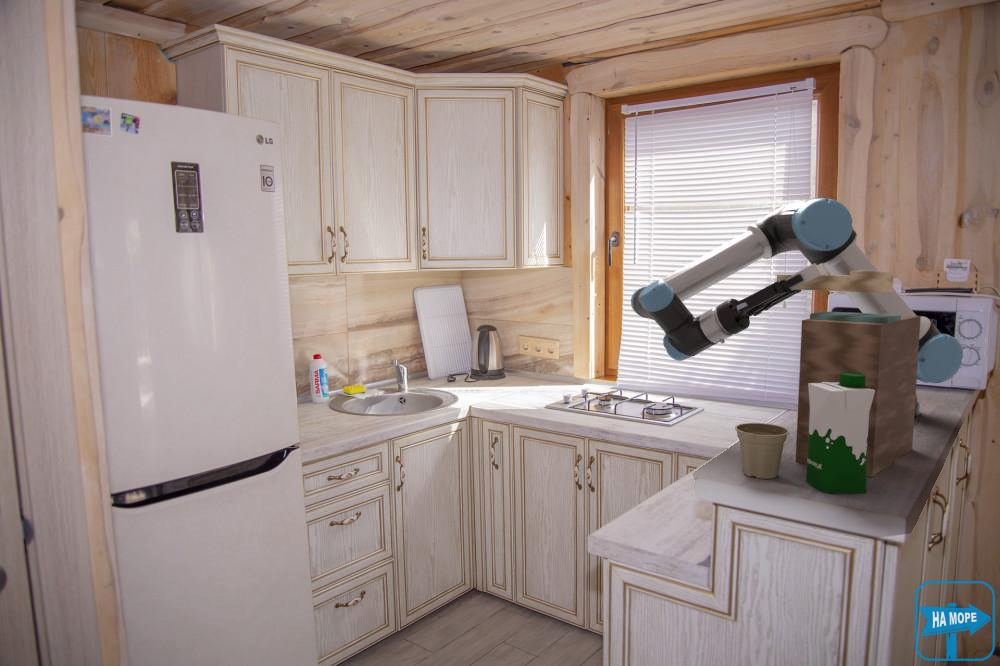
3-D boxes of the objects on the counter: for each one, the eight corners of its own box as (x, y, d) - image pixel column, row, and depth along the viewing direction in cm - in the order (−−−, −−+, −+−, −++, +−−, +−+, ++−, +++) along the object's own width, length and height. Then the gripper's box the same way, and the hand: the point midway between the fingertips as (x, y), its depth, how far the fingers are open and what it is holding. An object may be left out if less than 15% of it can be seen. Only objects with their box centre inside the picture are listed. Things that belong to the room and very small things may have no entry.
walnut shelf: (795, 461, 140) (802, 314, 137) (841, 437, 158) (848, 307, 155) (872, 477, 130) (881, 319, 127) (912, 449, 149) (920, 311, 146)
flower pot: (761, 485, 126) (763, 437, 125) (722, 471, 134) (723, 426, 133) (798, 477, 130) (800, 431, 129) (758, 464, 138) (760, 420, 137)
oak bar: (773, 289, 148) (774, 269, 148) (785, 288, 153) (785, 269, 152) (882, 292, 134) (884, 271, 133) (892, 291, 138) (893, 271, 137)
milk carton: (874, 494, 121) (881, 378, 118) (823, 496, 120) (829, 379, 118) (845, 478, 129) (851, 369, 127) (797, 479, 129) (802, 370, 126)
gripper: (749, 332, 164) (844, 284, 149) (715, 338, 153) (814, 286, 137) (734, 303, 166) (827, 253, 151) (700, 307, 155) (797, 252, 139)
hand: (821, 269), depth 144 cm, fingers closed on oak bar, 3 cm apart
